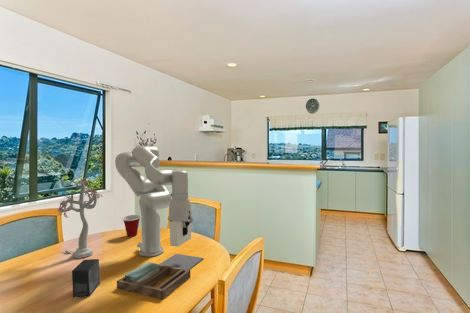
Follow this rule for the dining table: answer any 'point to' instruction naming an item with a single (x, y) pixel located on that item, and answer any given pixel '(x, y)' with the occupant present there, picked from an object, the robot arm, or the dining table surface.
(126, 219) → the plastic cup
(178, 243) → the white rectangular block
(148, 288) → the walnut rack
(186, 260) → the rubber mat
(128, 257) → the dining table surface
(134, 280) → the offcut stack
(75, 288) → the small box
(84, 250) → the tree sculpture
